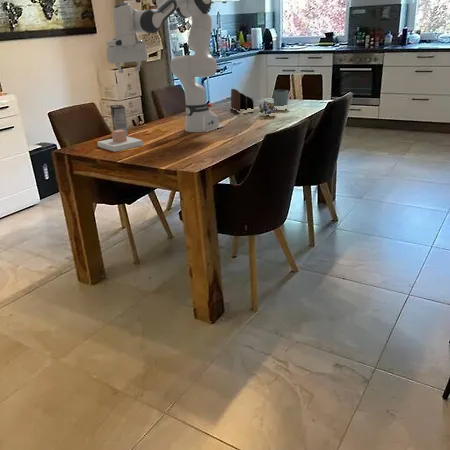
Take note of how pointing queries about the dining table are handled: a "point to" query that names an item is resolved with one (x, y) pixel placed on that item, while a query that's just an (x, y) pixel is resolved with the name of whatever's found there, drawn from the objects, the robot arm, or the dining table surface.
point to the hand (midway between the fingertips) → (129, 72)
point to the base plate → (120, 144)
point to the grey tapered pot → (280, 97)
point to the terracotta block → (119, 136)
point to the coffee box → (119, 118)
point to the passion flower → (267, 108)
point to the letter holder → (240, 100)
